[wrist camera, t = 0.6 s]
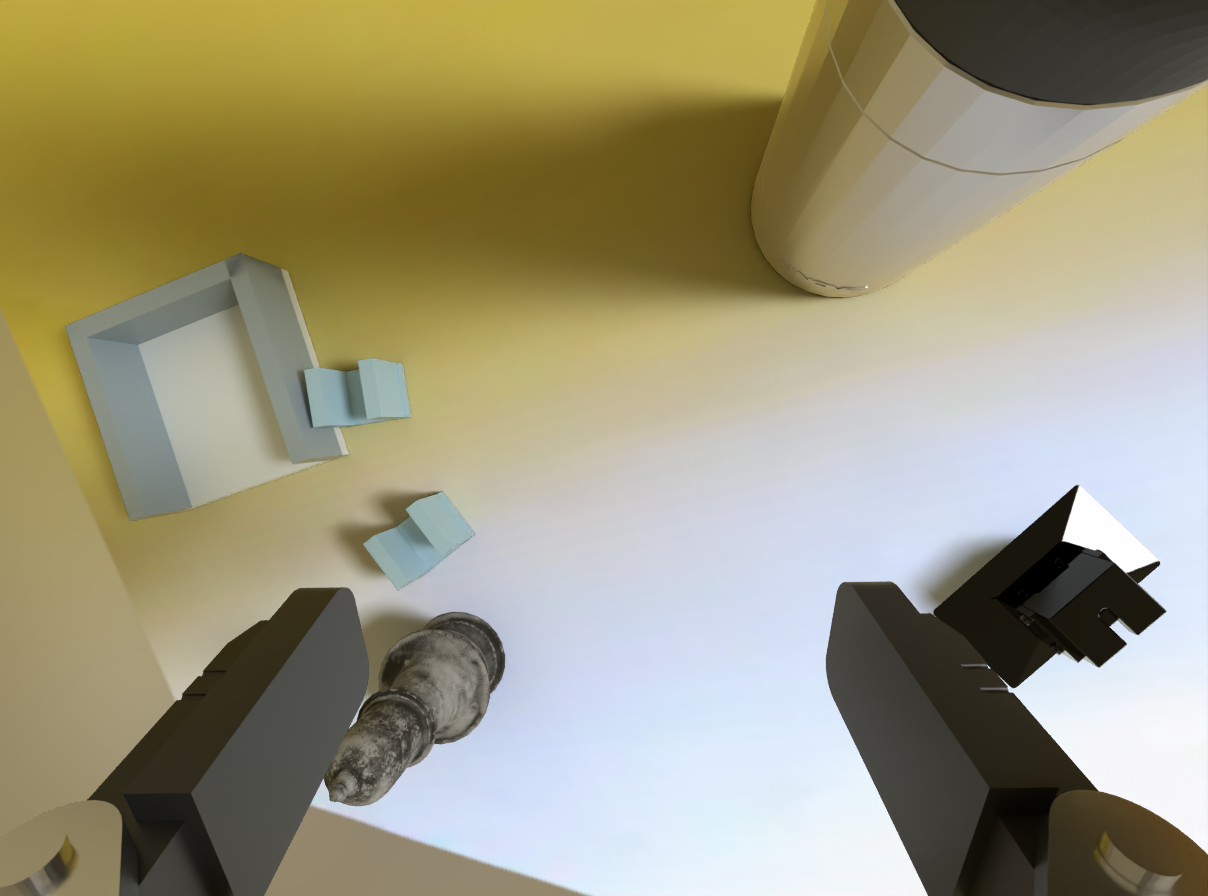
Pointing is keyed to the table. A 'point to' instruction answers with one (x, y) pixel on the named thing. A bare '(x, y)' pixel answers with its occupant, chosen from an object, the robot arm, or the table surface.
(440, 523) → the clip
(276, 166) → the table surface
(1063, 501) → the build plate
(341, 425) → the clip
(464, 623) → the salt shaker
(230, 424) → the tray
